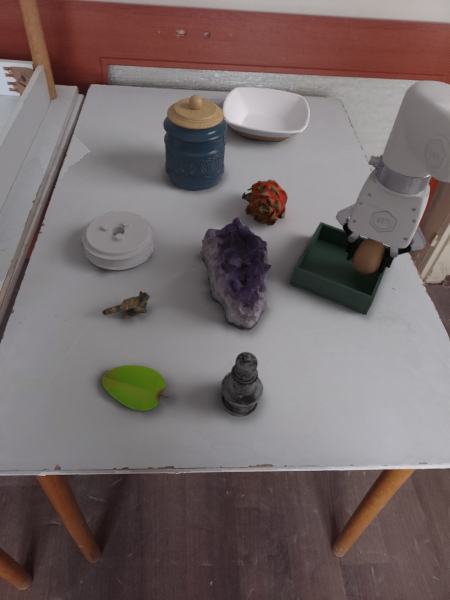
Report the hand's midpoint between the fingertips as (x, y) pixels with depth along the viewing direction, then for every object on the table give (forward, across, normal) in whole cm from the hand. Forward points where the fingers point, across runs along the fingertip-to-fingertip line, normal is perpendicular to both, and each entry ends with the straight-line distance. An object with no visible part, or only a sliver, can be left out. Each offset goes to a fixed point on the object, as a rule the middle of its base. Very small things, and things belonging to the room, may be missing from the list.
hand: (366, 260), depth 79 cm
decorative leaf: (+4, -23, -39) cm, 45 cm away
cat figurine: (+4, -32, -28) cm, 42 cm away
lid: (+4, -42, -16) cm, 45 cm away
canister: (+4, -42, +12) cm, 44 cm away
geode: (+4, -19, -13) cm, 23 cm away
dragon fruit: (+4, -23, +7) cm, 24 cm away
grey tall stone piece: (+5, -9, -33) cm, 34 cm away
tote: (+4, -4, -1) cm, 6 cm away
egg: (+3, 0, 0) cm, 3 cm away
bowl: (+4, -37, +39) cm, 54 cm away
